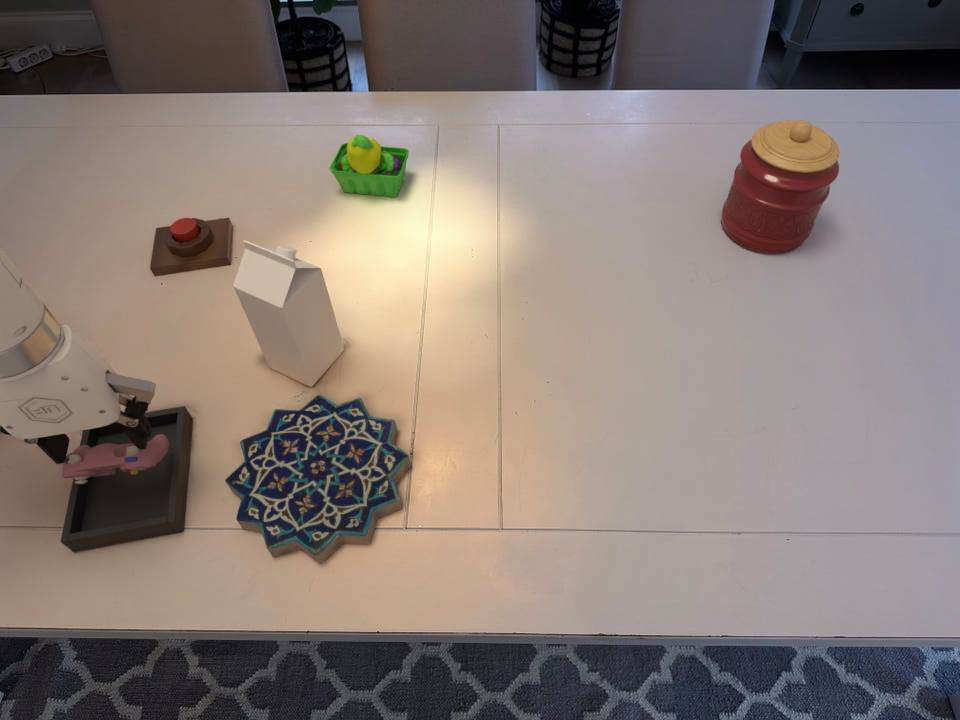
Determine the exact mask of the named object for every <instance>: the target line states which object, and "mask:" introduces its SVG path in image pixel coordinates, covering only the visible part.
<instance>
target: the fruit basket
mask: <svg viewBox="0 0 960 720" xmlns="http://www.w3.org/2000/svg"><path fill="white" fill-rule="evenodd" d="M409 153H410V150H409V149H408V148H406V147H395V146H383V145H380V143H379V142H378V141H377V140H376V139H374V138H372V137H369V136H365V135H363V134H357V135H355V136H353V137H351V138H350V139H349V140H348V142H344V143H342V144H341V145H340V146H339V148H338V150H337V152H336V154H335V156H334V157H333V159H332V161H331V163H330V165H329V167H328V168H329V171H330V172H331V174H332V175H334V177H335V179H336V181H337V183H338V185H339V186H340V188H341V189H342V191H343V192H344V193H349V194H354V193H355V194H360V195H371V196H379V197H383V196H385V197H389V198H397V197H398V193H399V191H400V189H401V187H402V184H403V181H404V180H405V174H406V167H407V162H408V158H409Z"/></svg>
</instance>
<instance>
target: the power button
mask: <svg viewBox="0 0 960 720" xmlns="http://www.w3.org/2000/svg"><path fill="white" fill-rule="evenodd" d="M191 218H192V217H182V218H179V219H177V220H175V221H173V222H172V223H171V224H170V226H171V232H172V234H173V236H174V238H175V240H176V241H178V242H181V243H182V242H189V241H191V240H193V239H195V238H197V236H198V235H199V234H200V231H199V229H198V226H197V224H196V222H195V221H194V220H193V219H191Z"/></svg>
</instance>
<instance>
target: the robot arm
mask: <svg viewBox="0 0 960 720" xmlns="http://www.w3.org/2000/svg"><path fill="white" fill-rule="evenodd" d="M156 386H157V385H156V383H155V382H154V381H149V380H145V379H139V378H135V377H130V376H126V375H121V374H119V373H117V371H116V370H115V369H114V368H113V366H112V365H111V364H110V363H109V362H108V361H107V359H106V358H105V357H104V356H103V355H102V353H100V352H99V351H98V350H97V349H96V348H95V347H94V345H92V344H91V343H90V342H89V341H88V340H87V339H86V338H84V337H83V336H82V335H81V334H80V333H79V332H78V331H76V330H74V328H72V327H71V326H70V325H68V324H65V323H64V324H63V323H60V322H59V321H58V319H57V318H56V317H55V316H54V314H53V313H52V312H51V310H50V309H49V308H48V307H47V305H45V303H44V302H43V300H42V299H41V298H40V296H39V295H38V293H36V291H35V290H34V289H33V288H32V286H31V285H30V284H29V282H28V281H27V280H26V278H25V277H24V276H23V274H22V273H21V272H20V271H19V270H18V269H17V267H16V266H15V264H14V263H13V262H12V260H11V259H10V258H9V257H8V255H7V254H6V253H5V252H4V250H3V249H2V248H1V247H0V434H4V435H6V436H7V435H8V436H11V437H14V438H16V439H22V440H23V442H24V443H25V444H27V445H36V446H37V448H39V449H40V450H42V452H43V453H44V454H46V455H47V456H48V458H50V460H52V462H54V463H55V464H56V465H61V464H62V465H63V463H64V462H65V460H66V456H67V455H68V450H69V445H70V442H71V441H70V437H69V436H68V435H67V434H70V433H77V432H83V430H88V429H93V428H98V427H103V426H106V425H109V424H112V423H114V422H118V423H120V424H123V425H124V428H123V430H124V433H125V434H126V435H127V436H128V437H129V439H130V440H131V441H132V442H133V443H134V445H135V446H136V447H137V448H138V449H140V450H142V449H146V446H147V439H148V437H150V436H151V431H152V428H151V424H150V423H149V421H148V420H147V419H146V417H145V416H144V413H147V412H148V409H149V406H150V404H151V403H152V400H153V399H154V397H155V393H156ZM121 406H123V407H125V408H124V411H122V410H121V409H122V408H121Z"/></svg>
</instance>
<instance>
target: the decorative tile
mask: <svg viewBox="0 0 960 720" xmlns="http://www.w3.org/2000/svg"><path fill="white" fill-rule="evenodd" d="M397 431H398V428H397V422H396V420H395V419H391V418H384V417H375V416H371V415H370V414H369V411H368V409H367V407H366V405H365V403H364V401H363V398H362V397H357V398H354V399H351V400H348V401H345V402H342V403H339V404H335V403H334V402H332V401H331V400H330V399H328V398H326V397H325V396H323V395H322V394H321V393H318V394H317V395H316V396H315V397H313V398H312V399H311V400H309V402H307V403H306V404H305V405H304V406H303V407H301V408H300V409H299V410H297V409H285V408H283V409H282V408H275V409H274V410H273V412H272V415H271V418H270V419H269V422H268V424H267V427H266V429H265V430H263V431H261V432H258V433H256V434H253V435H250V436H248V437H245V438H243V439H240V441H239V444H240V448H241V451H242V455H243V459H244V461H243V462H242V463H241V464H240V465H239V466H237V468H236V469H235V470H234V471H232V472H231V473H230V474H229V475H228V476H227V477H226V478H225V484H226V485H227V486H228V487H229V489H230V491H231V492H232V493H233V494H234V495H236V496H237V497H238V498H239V499H240V502H239V506H238V510H237V513H236V518H235V519H236V521H237V522H238V524H239V525H240V527H241V528H242V530H246V531H250V532H255V533H260V534H262V537H263V540H264V544H265V547H266V550H267V551H268V552H269V554H270V556H271V557H272V558H278V557H280V556H281V557H282V556H283V555H287V554H290V553H294V552H297V551H302V552H304V553H305V554H306V555H307V556H309V557H310V558H311V559H312V560H313V561H315V562H317V563H318V564H319V565H322V564H324V562H326V560H327V559H328V558H329V557H330V556H332V555H333V554H334V553H335V552H336V551H337V550H338V549H339V548H340V547H341V546H342V545H345V544H349V545H350V544H351V545H370V544H371V543H372V540H373V536H374V532H375V528H376V525H377V521H378V519H380V518H383V517H386V516H387V515H390V514H392V513H395V512H397V511H400V510H402V509H403V503H402V499H401V496H400V493H399V491H398V488H397V484H398V483H399V481H400V480H401V479H402V478H403V477H404V475H405V474H406V473H407V472H408V471H409V469H410V468H411V467H412V464H411V459H410V455H409V454H408V453H407V452H406V451H404V450H403V449H402V448H400V447H398V446H397V445H396V444H395V443H396V440H397V436H398V432H397ZM396 435H397V436H396Z"/></svg>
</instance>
